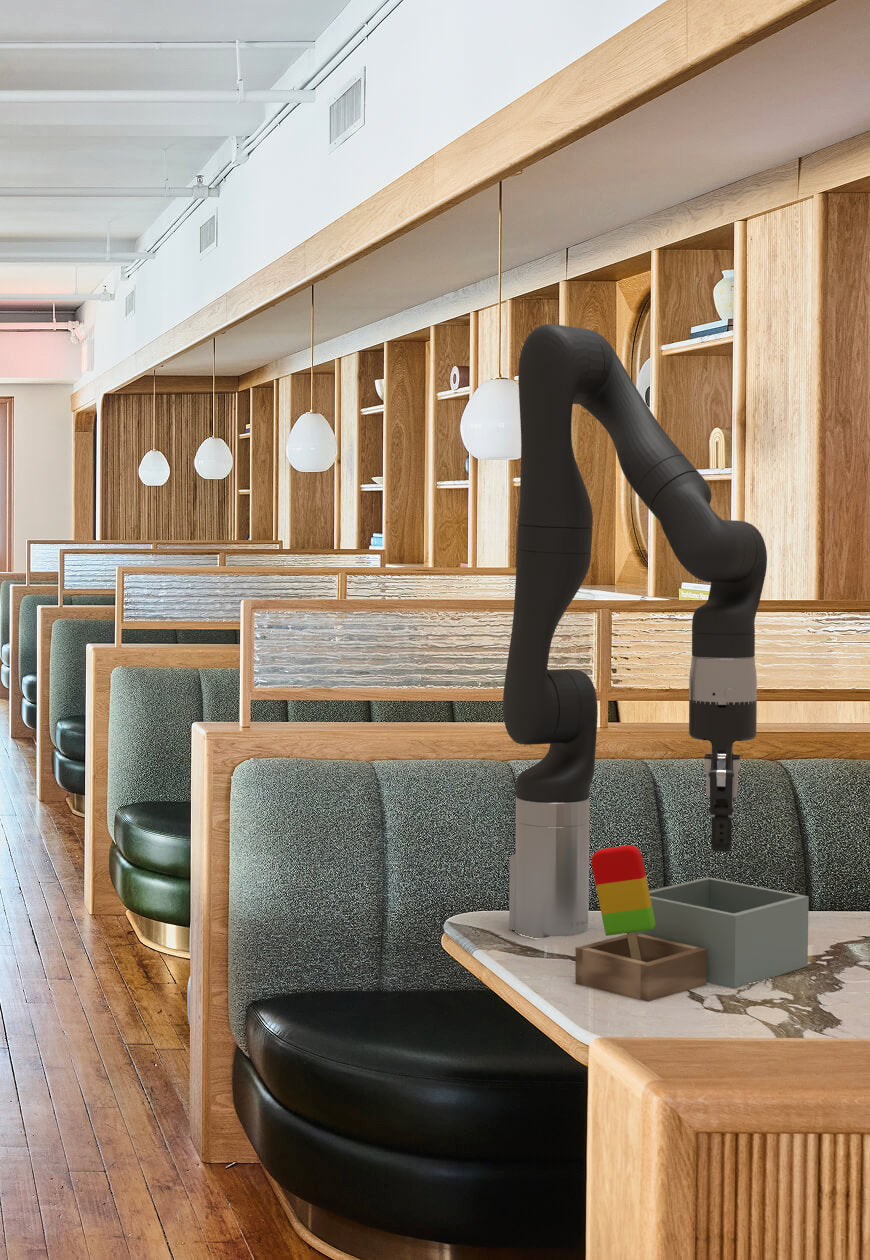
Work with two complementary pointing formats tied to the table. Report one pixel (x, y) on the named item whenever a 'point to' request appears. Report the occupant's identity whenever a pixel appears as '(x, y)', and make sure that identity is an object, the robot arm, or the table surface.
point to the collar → (641, 967)
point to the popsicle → (623, 893)
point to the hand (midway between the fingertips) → (721, 848)
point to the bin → (735, 928)
